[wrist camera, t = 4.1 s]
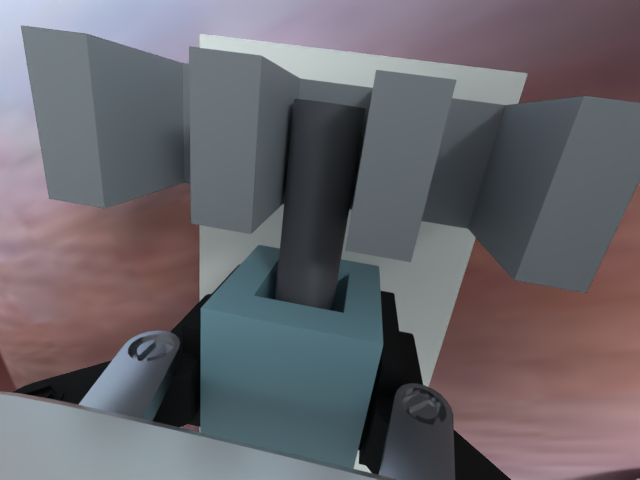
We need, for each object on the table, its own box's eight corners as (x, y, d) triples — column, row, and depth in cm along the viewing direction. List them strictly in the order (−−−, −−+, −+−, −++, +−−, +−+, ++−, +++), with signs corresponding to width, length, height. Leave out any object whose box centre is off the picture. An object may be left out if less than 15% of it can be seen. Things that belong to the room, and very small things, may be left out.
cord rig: (213, 41, 14) (-50, -94, 5) (514, 77, 13) (817, -16, 4) (207, 489, 24) (113, 699, 15) (375, 531, 22) (378, 784, 14)
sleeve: (258, 244, 11) (200, 308, 7) (379, 265, 11) (383, 344, 7) (250, 364, 13) (200, 465, 9) (353, 386, 12) (345, 501, 9)
